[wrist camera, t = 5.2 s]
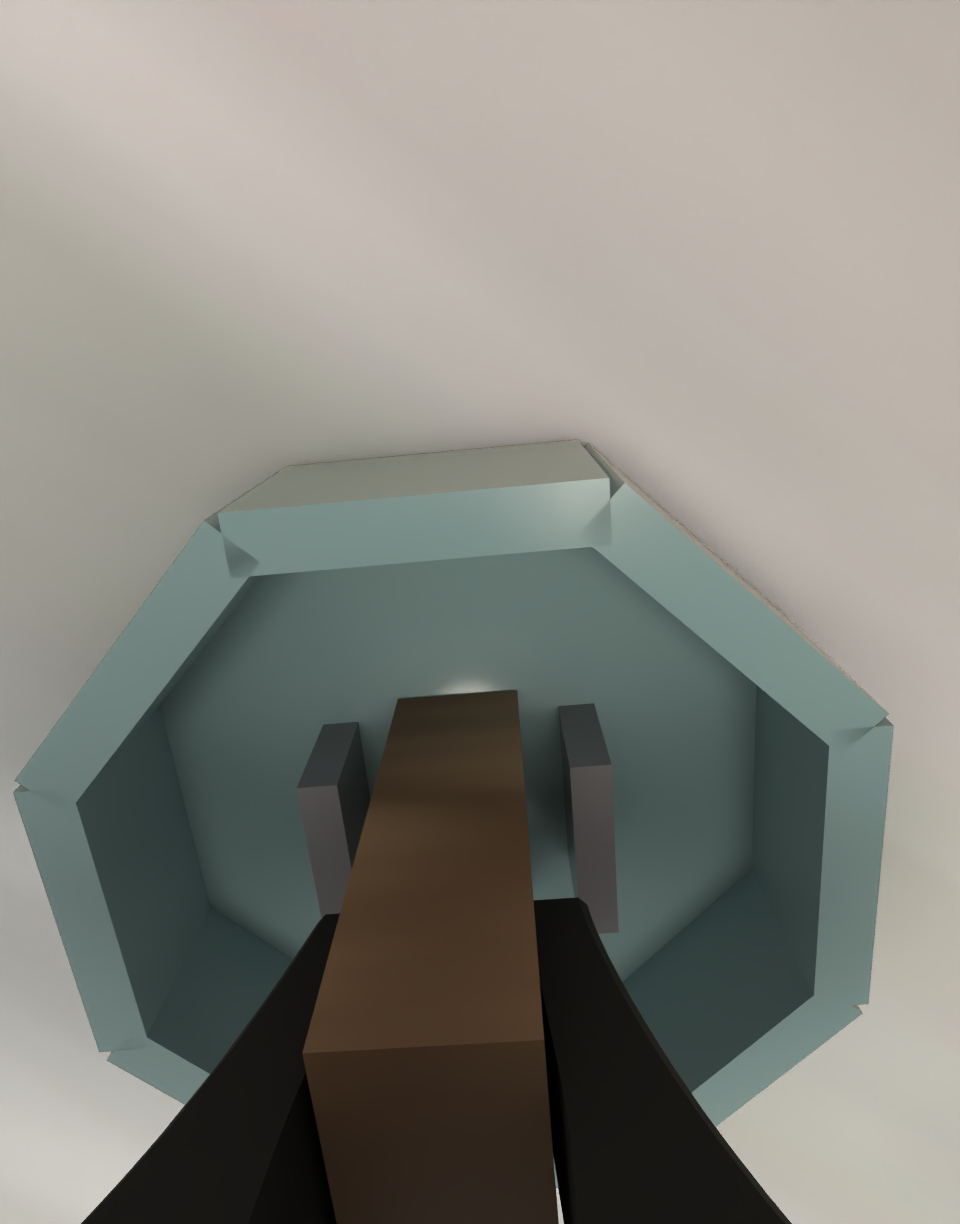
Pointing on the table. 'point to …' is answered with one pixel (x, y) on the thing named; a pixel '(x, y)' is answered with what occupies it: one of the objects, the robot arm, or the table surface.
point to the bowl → (551, 750)
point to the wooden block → (437, 986)
